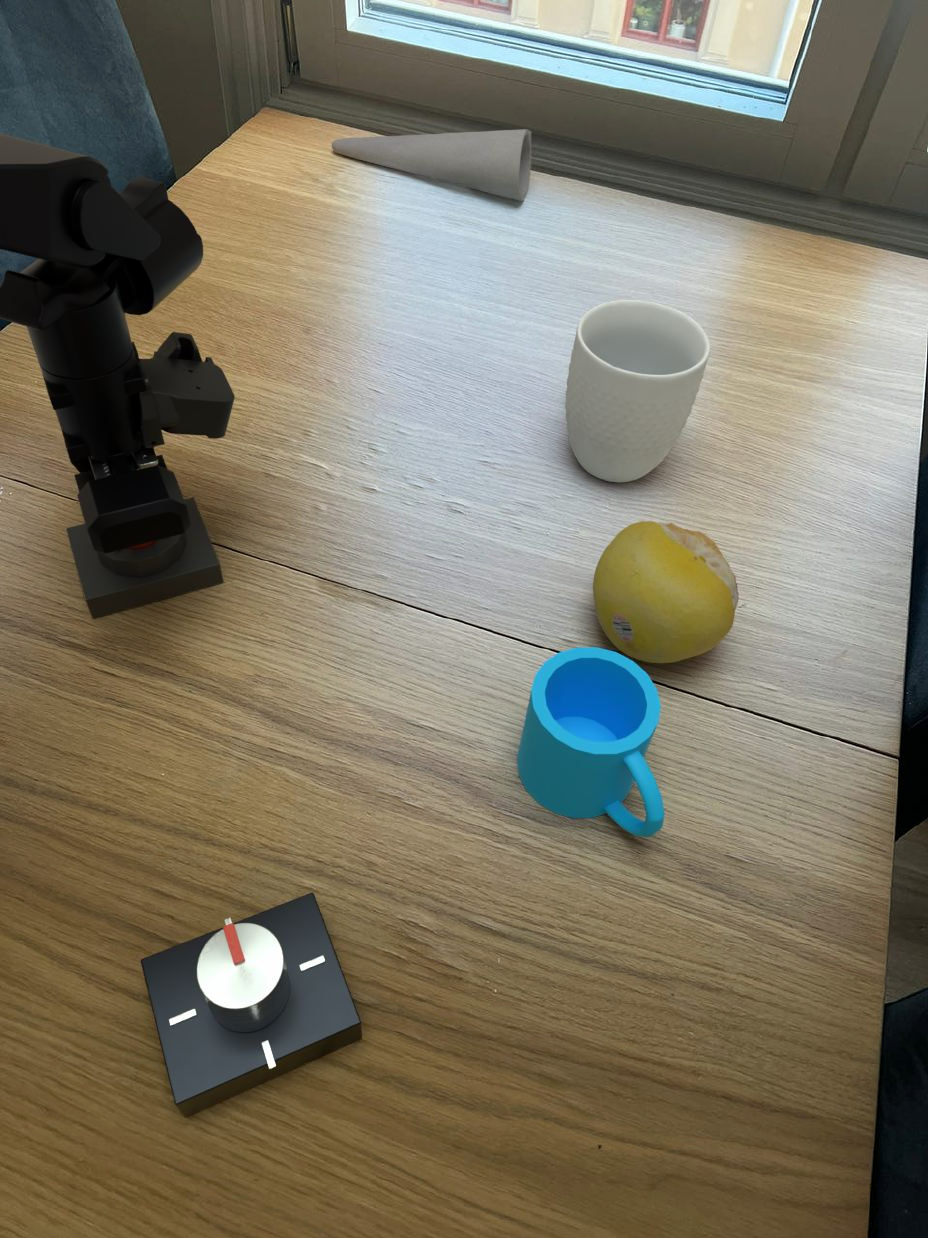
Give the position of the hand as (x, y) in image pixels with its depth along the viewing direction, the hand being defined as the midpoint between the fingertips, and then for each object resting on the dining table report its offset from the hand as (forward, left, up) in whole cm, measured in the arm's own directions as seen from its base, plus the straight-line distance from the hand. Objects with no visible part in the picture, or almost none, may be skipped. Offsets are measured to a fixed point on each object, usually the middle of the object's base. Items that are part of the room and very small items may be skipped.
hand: (136, 528), depth 71 cm
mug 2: (+23, -31, -4) cm, 39 cm away
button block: (0, 0, -4) cm, 4 cm away
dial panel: (-2, -36, -4) cm, 36 cm away
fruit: (+34, -21, -4) cm, 40 cm away
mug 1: (+42, -1, -4) cm, 42 cm away
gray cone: (+46, +53, -4) cm, 70 cm away
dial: (-2, -36, -1) cm, 36 cm away
